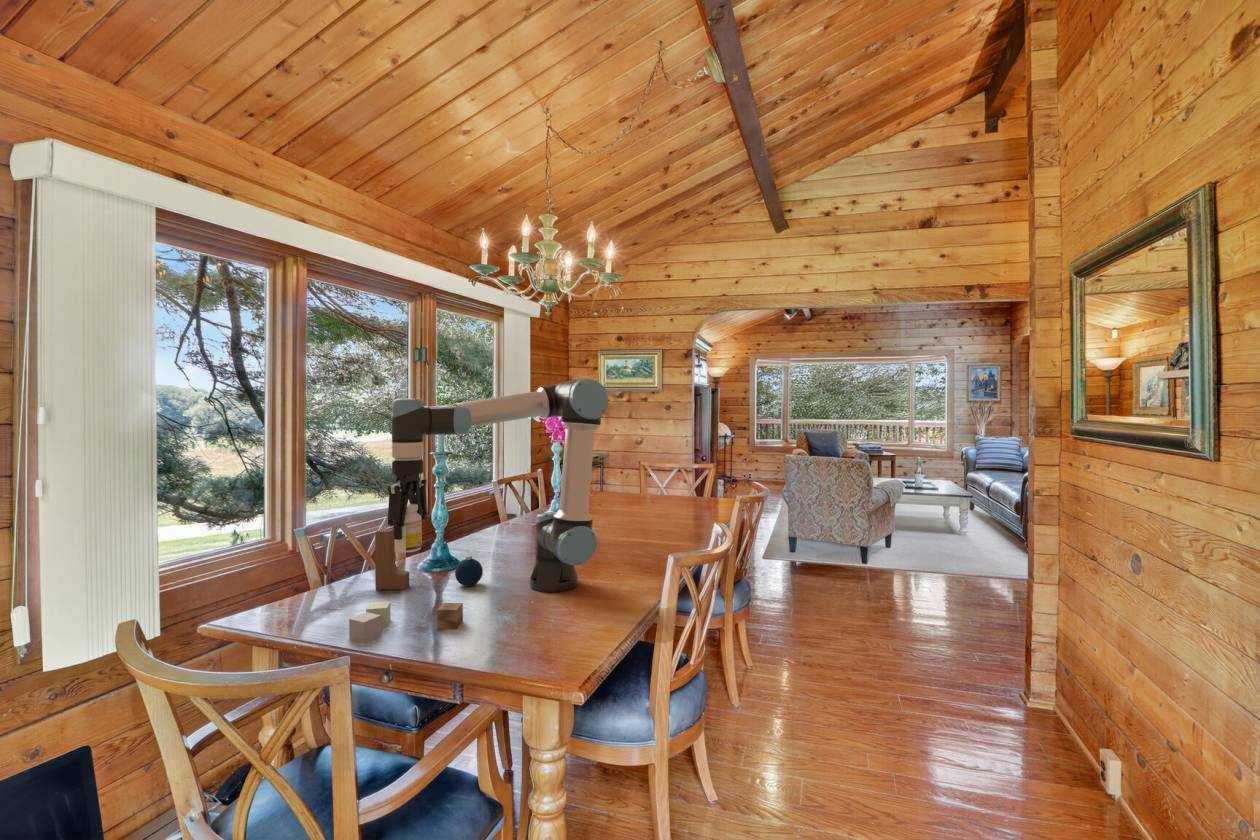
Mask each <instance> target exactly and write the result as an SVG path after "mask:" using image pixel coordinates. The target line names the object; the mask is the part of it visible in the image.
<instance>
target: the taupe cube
mask: <svg viewBox="0 0 1260 840" xmlns="http://www.w3.org/2000/svg"><path fill="white" fill-rule="evenodd" d="M348 621H349V622H348V625H349V626H348V630H349V632H348V634H349V635H348V636H349V638H348V639H349V640H353V641H356V642H359V643H366V642H368V641H371V640H373V639H376V638H378V637H380V636H382V627H381V615H377V614H373V613H369V612H366V611H365V612H363V613H360V614H358V615H356V616H353V617H351V618H349V620H348Z"/></svg>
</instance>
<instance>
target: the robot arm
mask: <svg viewBox="0 0 1260 840" xmlns="http://www.w3.org/2000/svg"><path fill="white" fill-rule="evenodd" d="M609 402H610V401H609V394H608V391H607V389H606V388H605V386H604V385H603V384H601V382H599V381H597V380H595V379H593V378H582V377H581V378H577V379H568V380H563V381H561V382H558V383H555V384H551V385H547V386H543V387H542V386H541V387H538V389H537V390H536V391H531V392H529V391H528V392H522V393H517V394H510V395H503V396H497V397H491V398H485V399H484V398H483V399H478V400H477V399H475V400H472V401H471V400H470V401H463V402H458V403H450V404H445V405H443V404H442V405H434V406H427V405H424V401H423V399H422V398H396V399H394V400H393V401H392V404H391V416H390V418H391V444H392V445H391V457H392V459H393V460H392V461H391V473H392V475H394V476H396V478H395V483H394V484H392V485H391V484H390V485H388V486H387V491H388V511H387V525H388V526H389V527H393V529H394V539H395V553H403V552H406V526H403V525H404V520H405V514H406V509H407V504H418V510H417V513H418V514H420V515H421V517H422V521H423V520H424V521H425V520H426V518H427V516H428V506H427V505H428V504H427V481H428V480H427V479H426V478H421V477H420V475H422V474H423V473H424V472H425V471H424V460H423V459H422V458H423V457H424V454H425V453H424V436H430V435H431V436H434V435H435V436H445V435H451V436H452V435H453V436H454V435H455V436H458V435H467V434H469V433H470V431H471V430H472V429H471V428H475V427H479V426H480V427H481V426H487V425H492V424H498V423H504V422H505V423H506V422H511V421H517V420H521V419H529V418H534V417H538V416H540V417H542V418H544V419H547V418H554V417H555V418H558V417H561V418H560V419H561V420H560V421H561V422H560V423H561V424H562V426H563V427H564V428H565V433H564V437H565V438H564V446H563V459H562V461H563V462H562V472H561V483H560V495H559V496H560V497H559V508H558V510H557V511H549V512H548V511H547V512H542V513H538V514H537V515H535V522H534V528H535V529H534V530H535V536H534V538H535V561H534V562H535V563H534V565H533V567H532V571H531V575H530V576H529V587H530V588H531V589H532V590H534V591H539V592H544V593H546V592H547V593H557V592H558V591H559V592H565V590H566V591H569V589H570V590H572V589H574V587H575V588H576V587H577V586H578V585H579V577H578V576H579V575H578V572H577V569H576V566H580V565H582V564H585V563H587V562H588V561H589V560H590V559H591V558H592V557H593V556H594V554H595V552H596V549H597V548H598V547H597V545H598V539H597V536H596V534H595V532H594V530H593V522H594V521H593V520H594V519H593V516H592V515H591V514H590V513H589V505H590V495H591V482H592V470H593V469H592V468H593V457H594V456H593V455H594V446H595V445H594V444H595V432H596V431H597V430H598V429H599V428H600V427H601V425H602V423H601V422H602V416H603V415H604V414H605V413H606V411H607V409H608V408H609ZM408 502H409V503H408ZM406 553H407V552H406ZM571 588H572V589H571Z"/></svg>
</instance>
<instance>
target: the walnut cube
mask: <svg viewBox="0 0 1260 840" xmlns="http://www.w3.org/2000/svg"><path fill="white" fill-rule="evenodd" d="M463 622H464V605H463V602H443V603H442V604H441V605H440V606H439V607H438V608H437V609H436V630H457V629H458V628H459V627H460V625H462V624H463Z"/></svg>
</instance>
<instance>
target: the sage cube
mask: <svg viewBox="0 0 1260 840" xmlns="http://www.w3.org/2000/svg"><path fill="white" fill-rule="evenodd" d="M366 612H369V613H373V614H377V615H381V628H388V626H389V624H390V621H391V620H392V618H391V617H392V615H391V601H389V600H388V601H377V602H376V601H375V602H369V604H368V605H367V607H366V608H365V613H366Z"/></svg>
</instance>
